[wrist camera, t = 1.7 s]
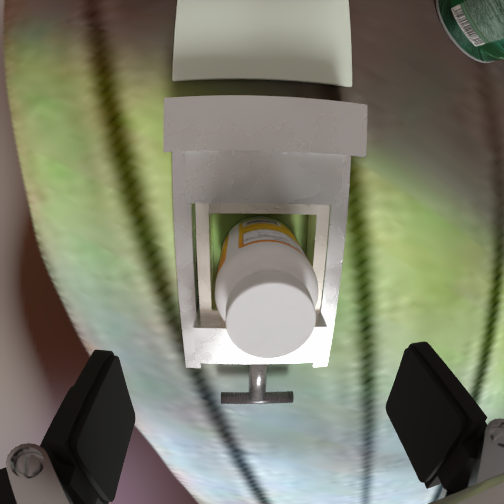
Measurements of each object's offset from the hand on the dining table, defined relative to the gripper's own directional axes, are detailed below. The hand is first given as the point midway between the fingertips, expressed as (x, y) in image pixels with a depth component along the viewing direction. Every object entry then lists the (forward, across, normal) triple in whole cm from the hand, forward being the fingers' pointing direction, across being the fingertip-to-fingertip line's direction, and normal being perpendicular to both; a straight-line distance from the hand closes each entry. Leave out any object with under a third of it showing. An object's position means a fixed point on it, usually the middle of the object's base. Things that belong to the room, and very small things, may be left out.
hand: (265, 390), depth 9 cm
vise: (+14, -1, +2) cm, 14 cm away
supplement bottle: (+14, -1, 0) cm, 14 cm away
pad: (+14, -1, -18) cm, 23 cm away
